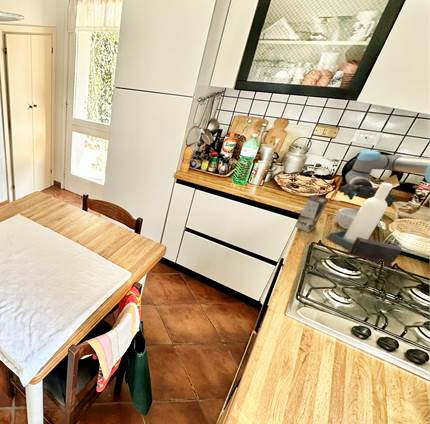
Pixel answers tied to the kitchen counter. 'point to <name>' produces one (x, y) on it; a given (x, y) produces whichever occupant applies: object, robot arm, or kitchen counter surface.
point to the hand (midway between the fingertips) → (371, 200)
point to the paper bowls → (346, 217)
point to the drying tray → (341, 239)
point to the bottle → (369, 215)
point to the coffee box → (311, 213)
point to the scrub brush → (375, 251)
